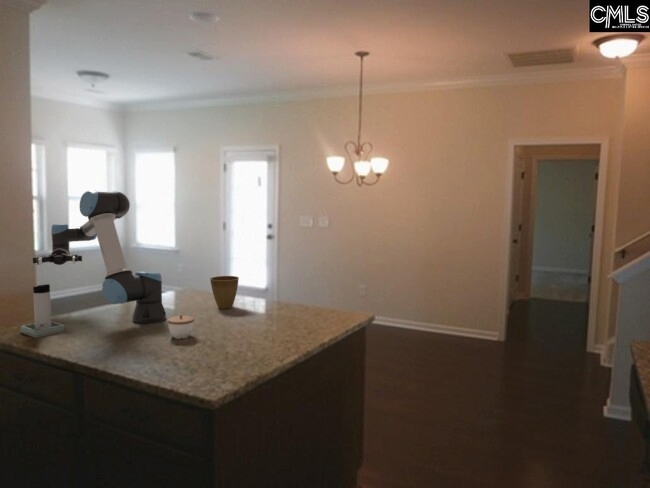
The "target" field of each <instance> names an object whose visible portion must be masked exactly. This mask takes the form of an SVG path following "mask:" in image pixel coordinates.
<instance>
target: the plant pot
mask: <svg viewBox="0 0 650 488" xmlns="http://www.w3.org/2000/svg"><path fill="white" fill-rule="evenodd" d="M209 280H210V286H211V290H212V295H213V298H214V300H215V303H216V305H217V308H218V309H224V310H226V309H231V308H232V307H233V306H234V302H235V300H236V296H237V291H238V286H239V276H233V275H220V276H219V275H218V276H213V277H211V278H210V279H209Z"/></svg>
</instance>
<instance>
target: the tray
mask: <svg viewBox="0 0 650 488" xmlns="http://www.w3.org/2000/svg"><path fill="white" fill-rule="evenodd" d="M51 326H52V327H50V328H45V329H40V330H35V322H34V323H29V324H24V325H21V326H20V333H22V334H24V335H27V336H29V337H32V338H35V339H36V338H39V337H40V338H41V337H44V336H45V337H46V336H50V335H54V334H59V333H63V332H65V331H66V330H65V324H62V323H59V322H56V321H52V320H51Z"/></svg>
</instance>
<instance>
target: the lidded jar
mask: <svg viewBox="0 0 650 488" xmlns="http://www.w3.org/2000/svg"><path fill="white" fill-rule="evenodd" d="M167 327H168V331H169V333H170V335H171V336H172V337H173V338H174V339H178V340H181V338H183V339H187V338H189V336H190V335H191V334H192V332H193V331H194V327H195V318H194V316H190V315H183V314H179V315H176V316H172V317H169V318H168V319H167Z"/></svg>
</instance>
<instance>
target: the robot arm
mask: <svg viewBox="0 0 650 488" xmlns="http://www.w3.org/2000/svg"><path fill="white" fill-rule="evenodd" d="M130 206H131V204H130V200H129V198H128V197H127V196H126V194H125V193H123V192H120V191H117V190H96V189H94V190H87V191H85V192H84V193H83V194H82V195H81V197H80V200H79V212H80V213H81V215H82V216H83V217H86V218H87V219H88V221H86V222H85V223H83V224H82V225H81V226H69V225H68V224H67V223H54V224H52V225H51V242H52V245H51V247H52V252H51V253H50V254H48V256H47V255H42V256H36V257H32V264H36V265H38V266H41V265H42V263H53V264H54V265H58V266H61V265H62V266H63V265H65V264H66V263H67V262H72V264H75V263H77V262H83V256H82V255H79V254H74V253H73V254H71V253H70V243H72V242H86V241H87V242H89V241H94V240H96V239H97V242H98V245H99V248H100V251H101V255H102V259H103V262H104V266H105V270H106V275H105V276H104V279H105V280H104V281H103V282H102V285H101V286H102V287H101V288H102V289H101V290H102V294H103V296H104V298H105V299H106V301H107V302H108V303H110V304H112V305H120V304H121V305H123V304H125V303H130V302H131V303H132V302H136V303H135V307H134V310H133V314H132V321H133V322H134V323H139V324H152V323H159V322H162V321H164V320H166V319H167V313H166V311H165V307H164V305H163V298H162V297H163V296H162V295H163V294H162V283H163V280H162V274H161V273H159V272H157V271H147V270H146V271H143V270H141V271H140V270H138V271H135V274H134V275H133V271H132V270H131V269H129V268H128V266H127V262H126V259H125V255H124V253H123V249H122V246H121V243H120V242H121V241H120V239H119V235H118V231H117V227H116V224H115V220H117V219H118V220H119V219H122V218H123V217H124V216H125V215H127V214H128V212H129V211H130Z"/></svg>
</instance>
